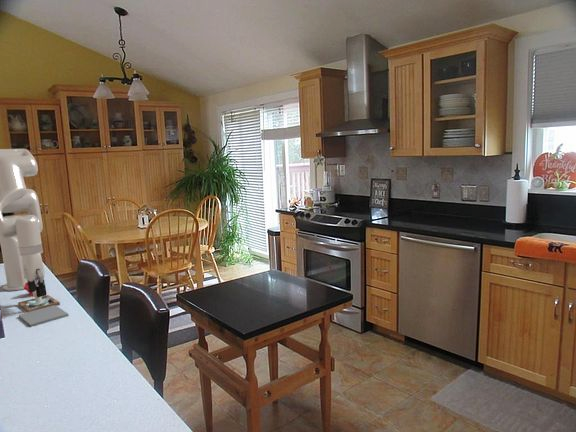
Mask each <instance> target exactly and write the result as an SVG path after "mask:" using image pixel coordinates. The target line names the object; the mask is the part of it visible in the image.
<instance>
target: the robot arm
mask: <svg viewBox="0 0 576 432" xmlns="http://www.w3.org/2000/svg"><path fill="white" fill-rule="evenodd" d="M38 171H39V168H38V163H37V160H36V158H35V157H34V156H33V154H32V153H31V151H29V150H28V149H27V148H0V248H1V249H0V250H1V254H2V255H1V256H2V261H3V266H4V273H5V274H4V275H5V281H6V284H5V285H3V287H2V289H3V290H4V291H7V292H8V291H9V292H11V291H21V290H25V289H24V287H25V284H26V283H27V282H28V288H29V292H30V293H31V292H33V293H34V291H36V294H37V297H42V296H46V295H48V294H47V293H48V292H47V288H46V282H45V277H46V276H45V268H44V264H43V258H42V253H44V250H43V242H42V237H41V233H42V231H43V229H44V227H43V226H44V225H43V219H42V212H41V207H40V202H39V201H40V200H39V197H38V194H37V192H36V191H35V190H33V189H32V188H31V189H30V188H27V185H26V183H25V179H24V177H34V176H37V174H38ZM18 212H19V213H20V212H28V213H23V214H14V215H5V216H4V215H3V214H8V213H18ZM37 281H38V282H37ZM29 292H28V293H29Z"/></svg>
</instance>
